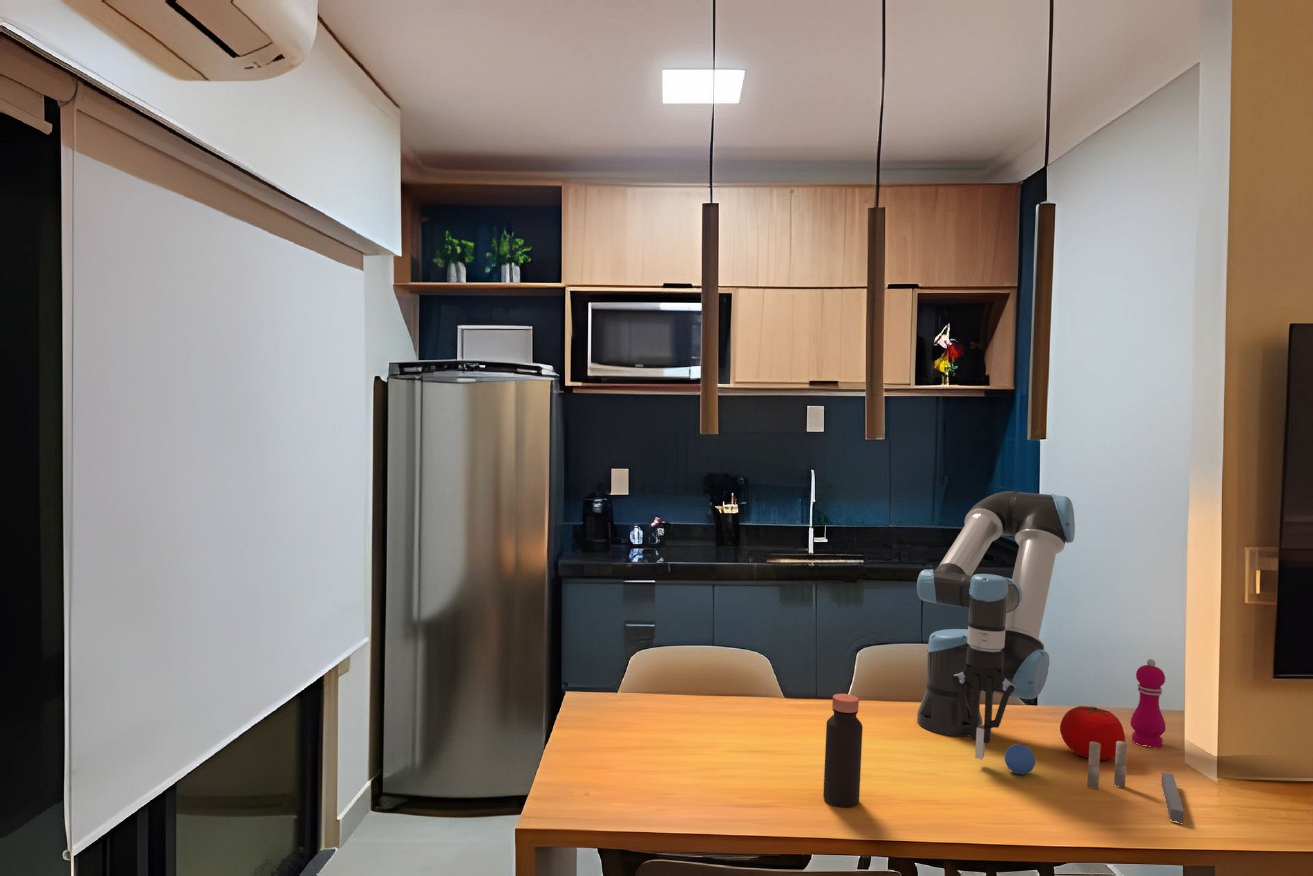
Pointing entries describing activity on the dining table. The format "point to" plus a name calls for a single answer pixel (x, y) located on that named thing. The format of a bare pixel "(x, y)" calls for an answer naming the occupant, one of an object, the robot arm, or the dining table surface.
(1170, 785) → the grey square rod
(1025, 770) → the ball
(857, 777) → the bottle
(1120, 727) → the tomato
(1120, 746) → the pin
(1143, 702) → the pepper mill
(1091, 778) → the pin
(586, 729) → the dining table surface
